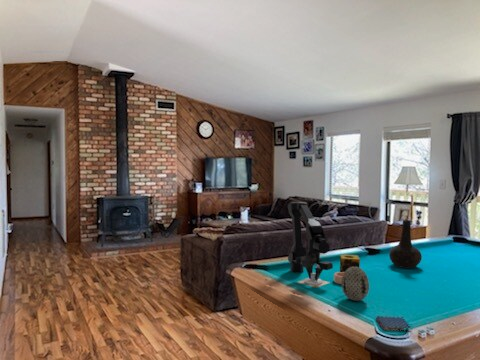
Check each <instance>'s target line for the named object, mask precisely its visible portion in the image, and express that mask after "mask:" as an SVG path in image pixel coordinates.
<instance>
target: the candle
mask: <svg viewBox="0 0 480 360" xmlns="http://www.w3.org/2000/svg"><path fill="white" fill-rule="evenodd" d="M360 264H361V260H360V257H359V255H356V254H340V255H339V272H345V271H346V270H347V269H348V268H350V267H353V266H356V267H359V268H360Z"/></svg>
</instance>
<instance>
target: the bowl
mask: <svg viewBox="0 0 480 360" xmlns="http://www.w3.org/2000/svg"><path fill="white" fill-rule="evenodd" d="M344 273H345V272H340V271H336V272H334V273H333V281H334V283H335V284H338V285H342V277H343V275H344Z"/></svg>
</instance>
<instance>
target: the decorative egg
mask: <svg viewBox="0 0 480 360" xmlns="http://www.w3.org/2000/svg"><path fill="white" fill-rule="evenodd" d="M341 289H342V292H343V294H344V295H345V297H346V298H347V299H349V300H351V301H355V302H357V301H358V302H359V301H362V300H363V299H365V298H366V297H367V296H368V294H369V292H370V282H369V278H368V275H367V274H366V272H365V271H364V269H362V268H361V267H360V266H359V267H356V266H353V267H350V268H348V269H347V270H346V271H345V273H344V275H343V277H342V284H341Z"/></svg>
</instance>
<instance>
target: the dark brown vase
mask: <svg viewBox="0 0 480 360" xmlns="http://www.w3.org/2000/svg"><path fill="white" fill-rule="evenodd" d="M401 225H402V227H401V229H402V230H401V236H400V239H399V242H398V244H397V245H395V246H393V247H392V248H391V249H390V250H389V260H390V262H392V264H393V265H395V266H396V267H399V268H403V269H404V268H405V269H414V268H417V266H418V265H419V264H420V263H421V262H422V257H423V256H422V253H421V251H420V250H419V249H418V248H416V247H414V245H413V244H412V234H411V231H412V230H411V229H412V228H411V225H413V223H412V220H409V219H405V220H402V224H401Z"/></svg>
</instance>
